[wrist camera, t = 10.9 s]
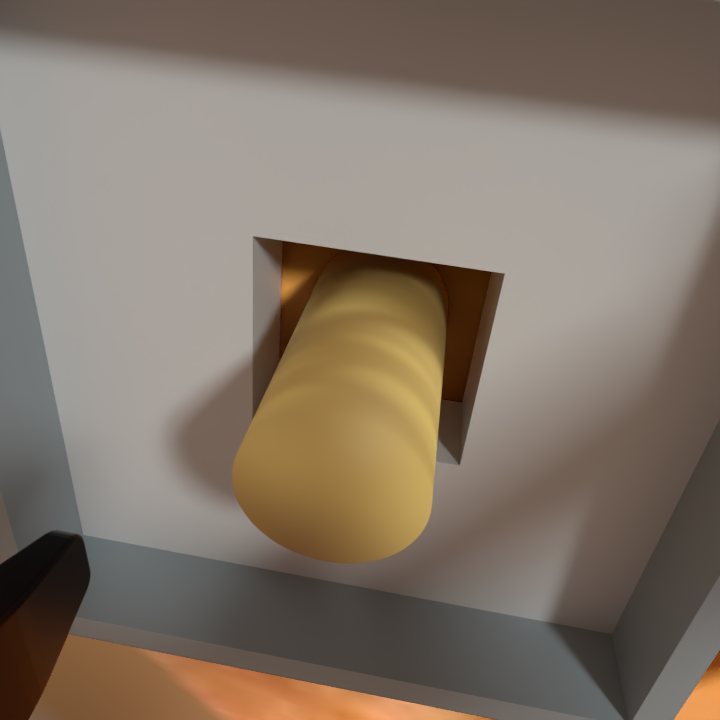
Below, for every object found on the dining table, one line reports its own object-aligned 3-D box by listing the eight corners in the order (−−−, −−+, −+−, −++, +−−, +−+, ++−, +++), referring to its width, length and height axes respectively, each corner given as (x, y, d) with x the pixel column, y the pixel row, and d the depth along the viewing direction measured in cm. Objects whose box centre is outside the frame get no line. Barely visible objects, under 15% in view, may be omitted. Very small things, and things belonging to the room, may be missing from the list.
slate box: (919, -50, 13) (1177, -38, 8) (617, 584, 24) (652, 750, 20) (-11, -149, 15) (-256, -189, 10) (100, 489, 26) (10, 622, 21)
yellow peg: (459, 252, 18) (448, 434, 12) (437, 370, 21) (416, 578, 14) (318, 231, 19) (230, 396, 12) (311, 349, 21) (233, 544, 14)
